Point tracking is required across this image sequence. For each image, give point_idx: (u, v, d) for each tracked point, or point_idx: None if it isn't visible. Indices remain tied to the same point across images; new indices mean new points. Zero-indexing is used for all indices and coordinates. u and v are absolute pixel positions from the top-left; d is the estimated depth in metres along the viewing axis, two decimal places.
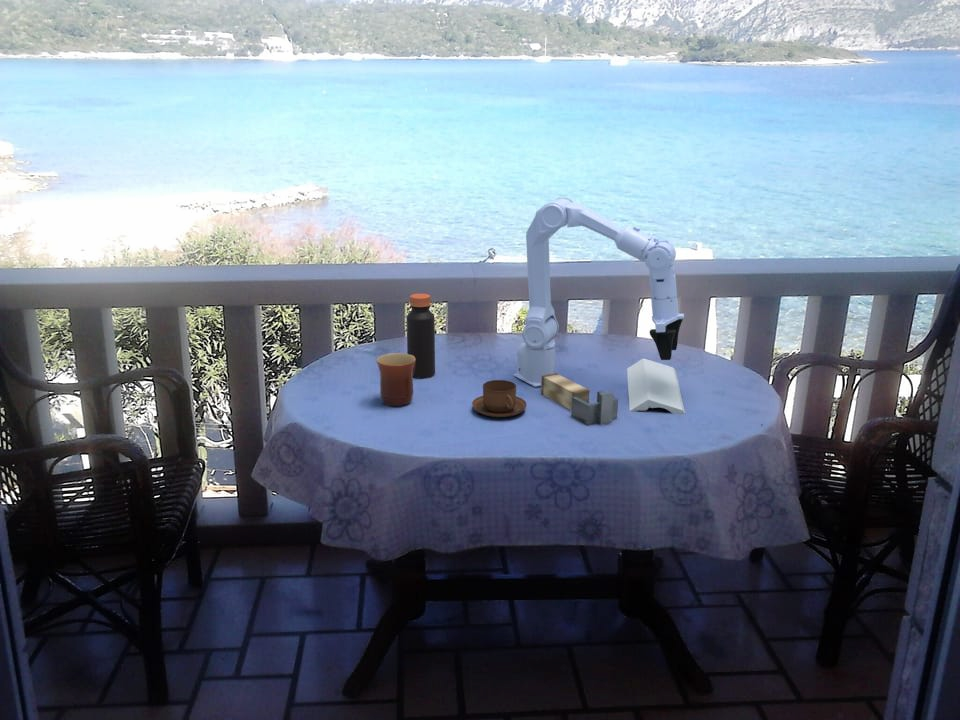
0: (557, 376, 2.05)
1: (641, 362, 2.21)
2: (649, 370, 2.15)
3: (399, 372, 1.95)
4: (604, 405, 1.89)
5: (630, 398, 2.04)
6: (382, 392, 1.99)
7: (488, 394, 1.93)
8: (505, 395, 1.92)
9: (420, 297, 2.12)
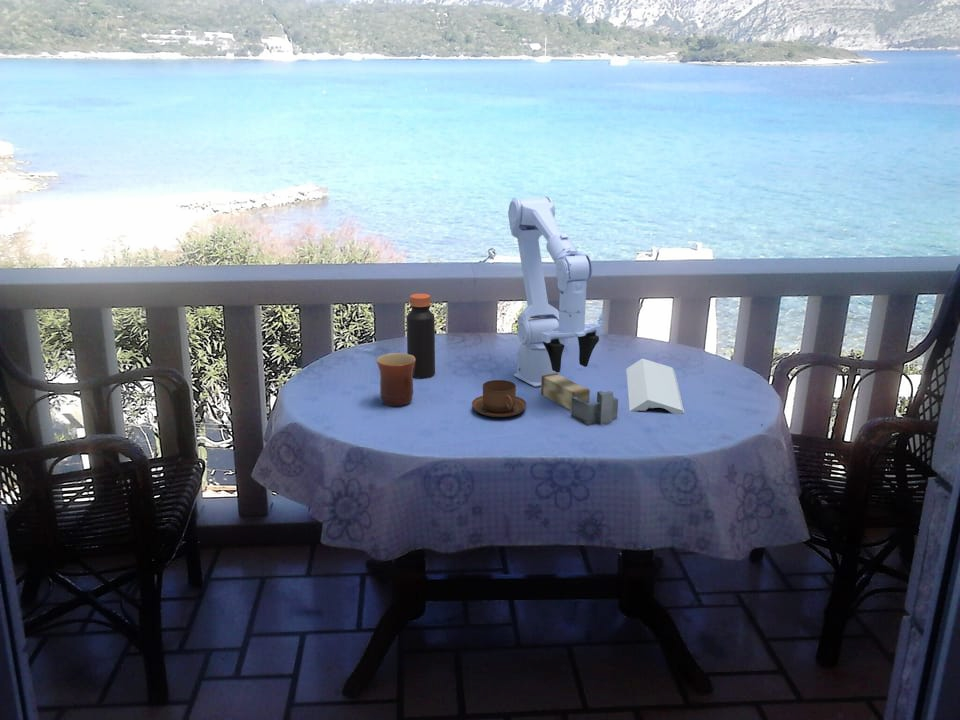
0: (557, 376, 2.05)
1: (640, 362, 2.21)
2: (648, 370, 2.15)
3: (399, 372, 1.95)
4: (604, 405, 1.89)
5: (630, 398, 2.04)
6: (382, 392, 1.99)
7: (487, 394, 1.93)
8: (505, 395, 1.92)
9: (420, 297, 2.12)
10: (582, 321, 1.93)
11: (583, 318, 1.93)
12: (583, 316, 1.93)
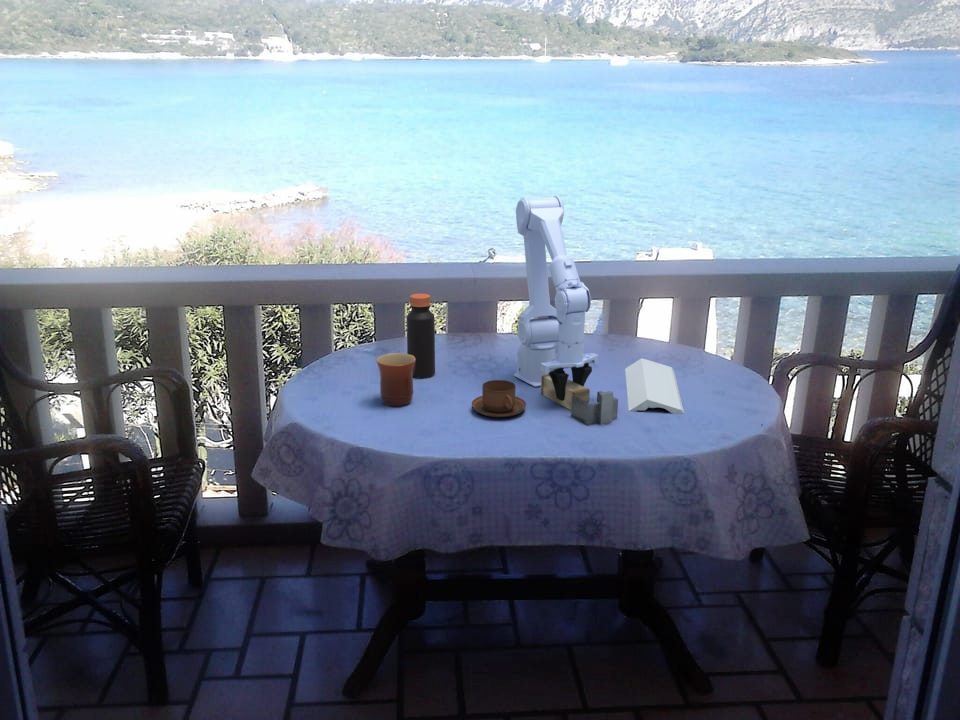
0: None
1: (639, 362, 2.21)
2: (648, 370, 2.15)
3: (399, 372, 1.95)
4: (604, 405, 1.89)
5: (629, 398, 2.04)
6: (382, 392, 1.99)
7: (487, 394, 1.93)
8: (504, 395, 1.92)
9: (420, 297, 2.12)
10: (581, 352, 1.96)
11: (582, 349, 1.96)
12: (582, 347, 1.96)
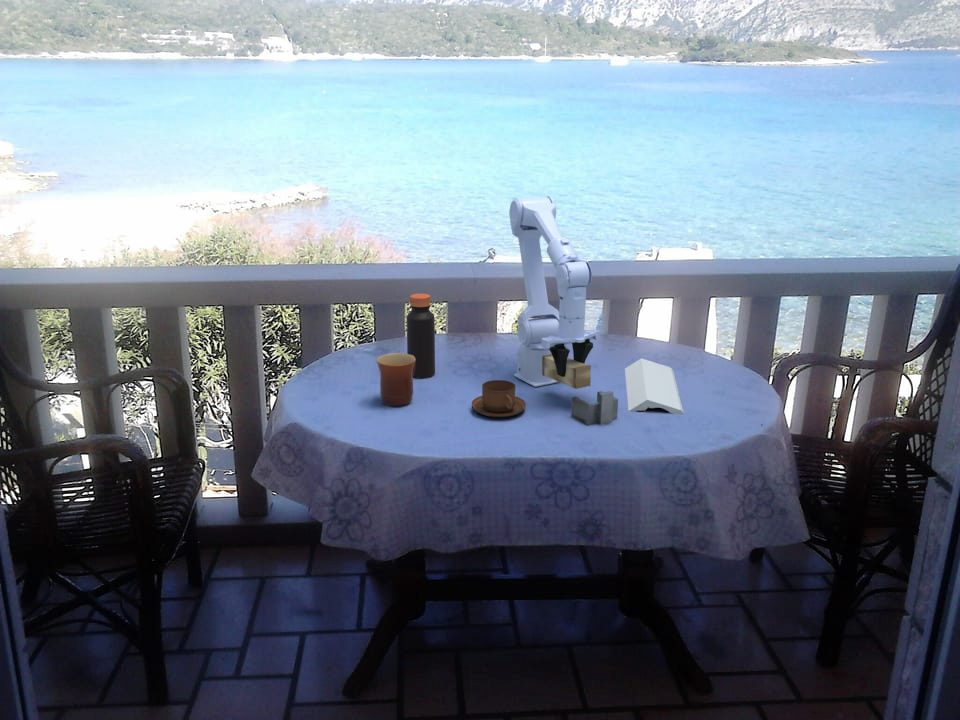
0: None
1: (639, 362, 2.21)
2: (647, 370, 2.15)
3: (399, 372, 1.95)
4: (604, 405, 1.89)
5: (629, 398, 2.04)
6: (382, 392, 1.99)
7: (487, 394, 1.93)
8: (504, 395, 1.92)
9: (420, 297, 2.12)
10: (582, 327, 1.94)
11: (583, 324, 1.94)
12: (583, 322, 1.94)
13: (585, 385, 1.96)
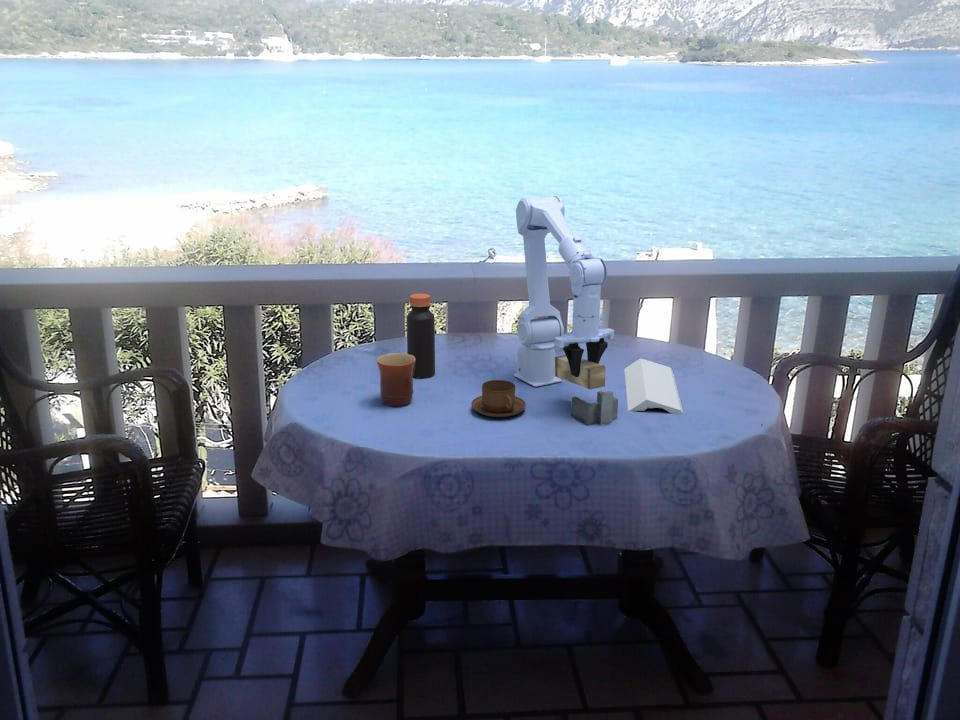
0: None
1: (638, 362, 2.21)
2: (647, 370, 2.15)
3: (399, 372, 1.95)
4: (604, 405, 1.89)
5: (628, 398, 2.04)
6: (382, 392, 1.99)
7: (487, 394, 1.93)
8: (504, 395, 1.92)
9: (420, 297, 2.12)
10: (596, 326, 1.89)
11: (597, 323, 1.89)
12: (597, 321, 1.89)
13: (600, 386, 1.91)
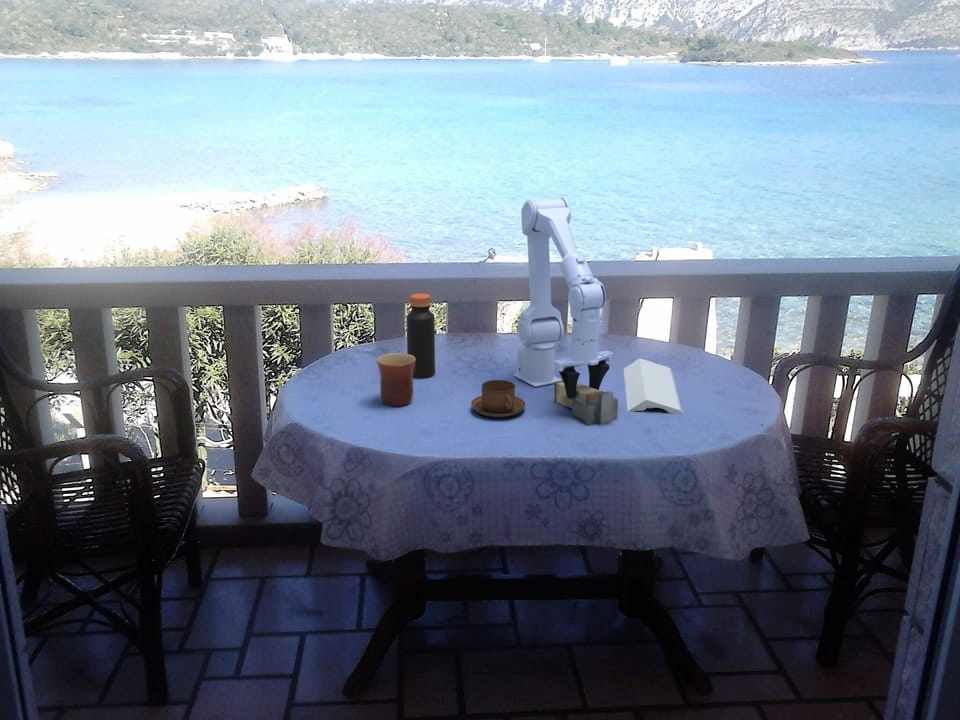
0: None
1: (637, 362, 2.21)
2: (646, 370, 2.15)
3: (399, 372, 1.95)
4: (604, 405, 1.89)
5: (627, 398, 2.04)
6: (382, 392, 1.99)
7: (487, 394, 1.93)
8: (504, 395, 1.92)
9: (420, 297, 2.12)
10: (595, 349, 1.91)
11: (596, 346, 1.91)
12: (596, 344, 1.91)
13: None
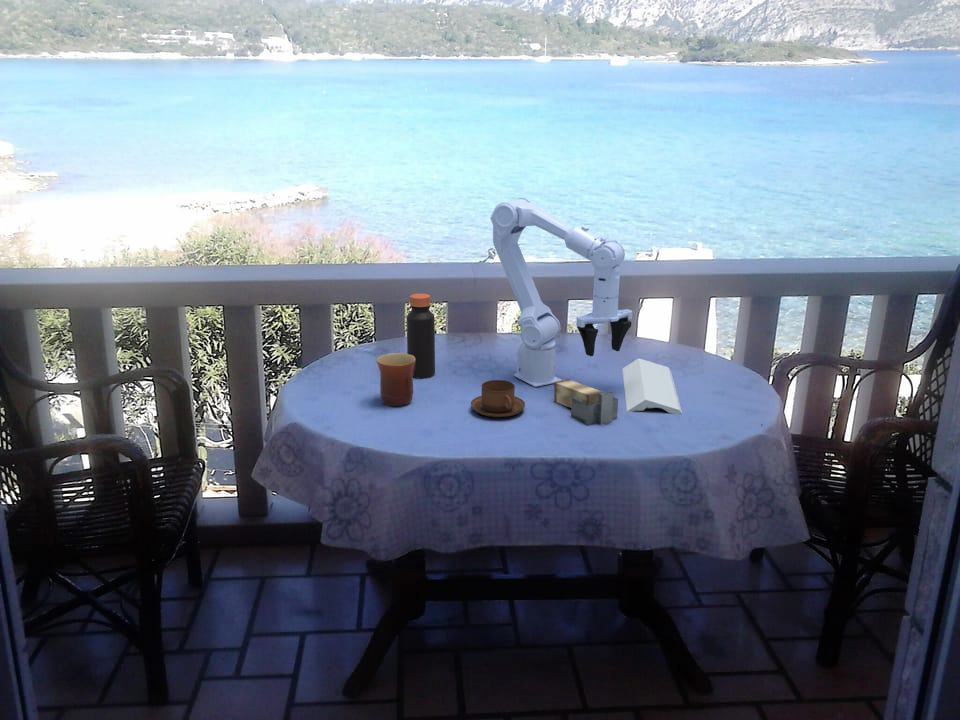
0: (570, 382, 2.01)
1: (636, 362, 2.21)
2: (645, 370, 2.15)
3: (399, 372, 1.95)
4: (604, 405, 1.89)
5: (627, 398, 2.04)
6: (382, 392, 1.99)
7: (486, 394, 1.93)
8: (504, 395, 1.92)
9: (420, 297, 2.12)
10: (615, 306, 2.00)
11: (616, 304, 2.00)
12: (616, 302, 1.99)
13: None
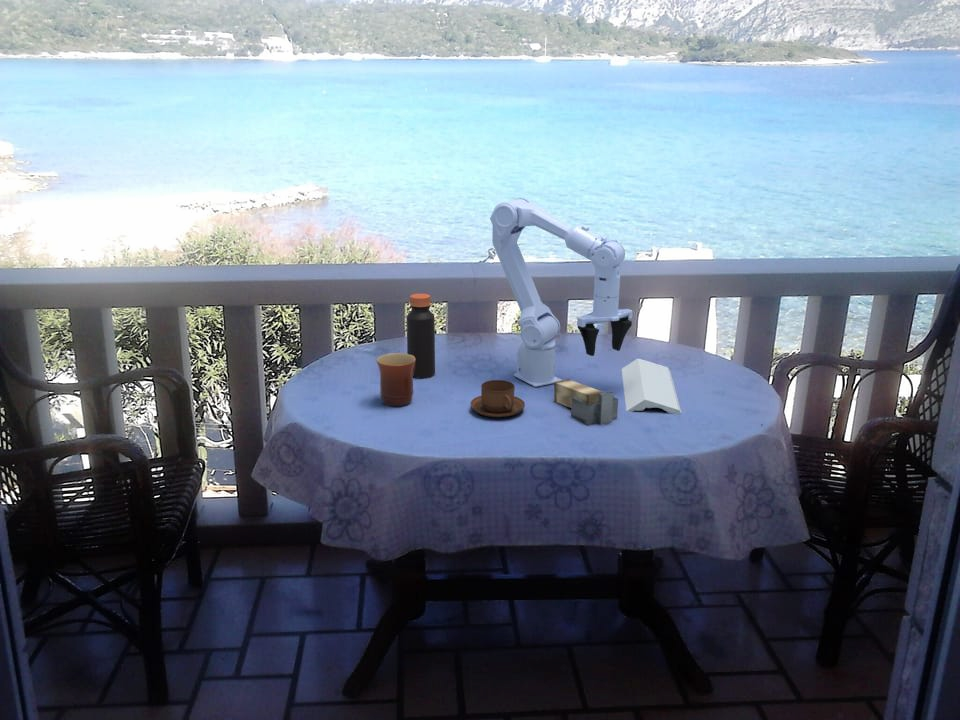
0: (570, 382, 2.01)
1: (636, 362, 2.21)
2: (644, 370, 2.15)
3: (399, 372, 1.95)
4: (604, 405, 1.89)
5: (626, 398, 2.04)
6: (382, 392, 1.99)
7: (486, 394, 1.93)
8: (503, 395, 1.92)
9: (420, 297, 2.12)
10: (616, 306, 2.00)
11: (617, 303, 2.00)
12: (617, 301, 2.00)
13: None
